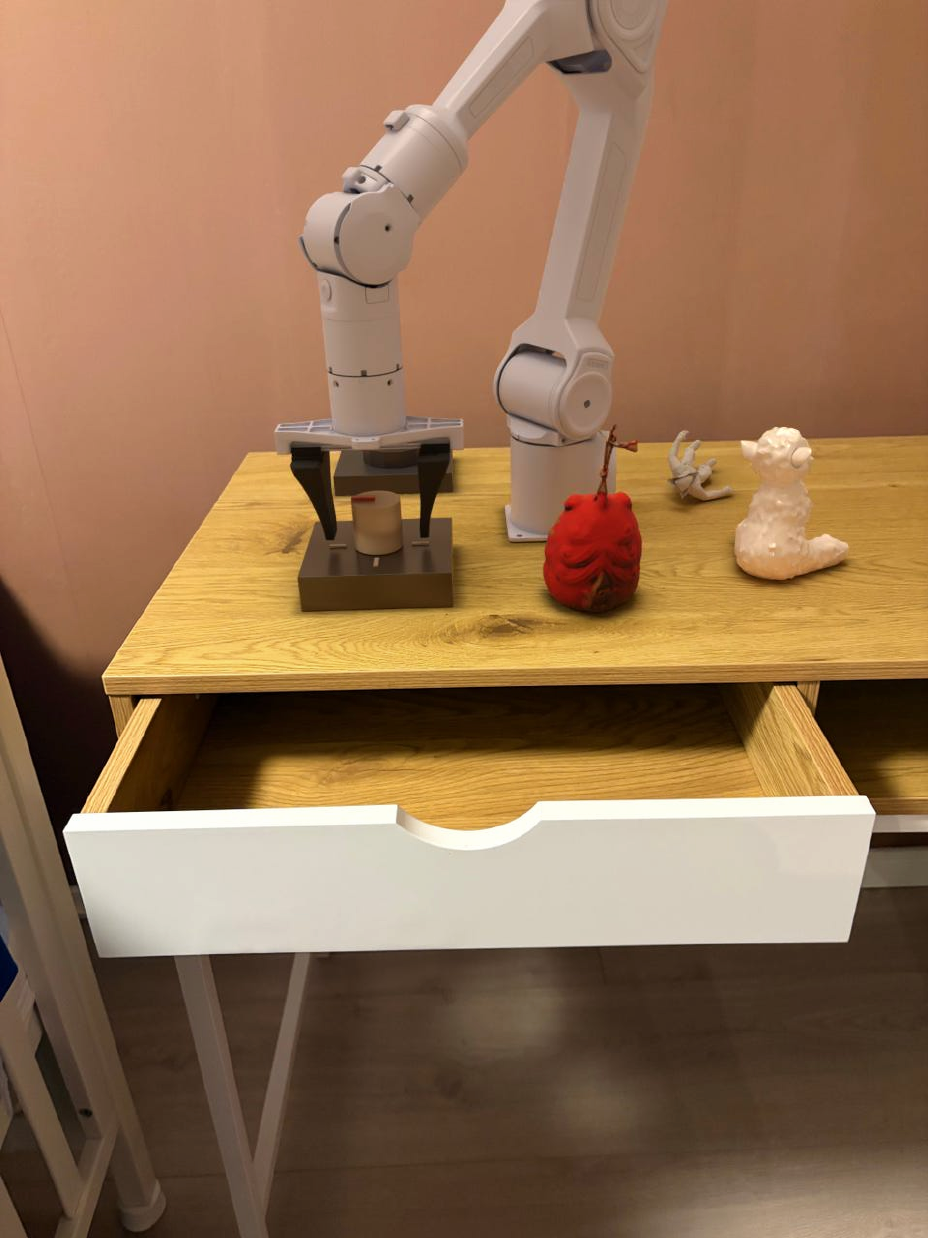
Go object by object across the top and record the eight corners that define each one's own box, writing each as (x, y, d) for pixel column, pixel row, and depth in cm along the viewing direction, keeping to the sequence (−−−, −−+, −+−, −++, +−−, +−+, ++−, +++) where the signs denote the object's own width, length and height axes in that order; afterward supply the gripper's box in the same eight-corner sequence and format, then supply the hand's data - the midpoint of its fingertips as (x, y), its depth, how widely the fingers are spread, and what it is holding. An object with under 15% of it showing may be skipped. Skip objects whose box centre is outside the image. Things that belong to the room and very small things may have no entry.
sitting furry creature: (849, 560, 79) (875, 421, 73) (812, 600, 73) (836, 452, 67) (742, 535, 84) (758, 403, 79) (699, 570, 78) (713, 430, 73)
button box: (452, 460, 104) (451, 424, 102) (452, 493, 96) (451, 455, 94) (345, 463, 104) (341, 428, 102) (335, 496, 96) (331, 459, 94)
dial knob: (404, 534, 79) (401, 486, 77) (402, 554, 76) (398, 504, 74) (357, 535, 79) (352, 487, 77) (352, 555, 76) (348, 506, 74)
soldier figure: (736, 482, 98) (743, 488, 87) (698, 513, 100) (701, 522, 88) (688, 426, 98) (689, 423, 87) (651, 457, 100) (647, 459, 88)
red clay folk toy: (624, 575, 78) (635, 396, 71) (652, 615, 72) (667, 424, 65) (535, 584, 77) (536, 404, 70) (555, 625, 71) (559, 432, 64)
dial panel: (453, 548, 84) (451, 515, 82) (453, 606, 74) (451, 570, 73) (318, 552, 84) (315, 519, 82) (301, 611, 74) (296, 575, 73)
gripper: (258, 384, 67) (281, 557, 74) (461, 378, 67) (466, 552, 73) (275, 360, 73) (295, 521, 80) (461, 355, 73) (466, 517, 80)
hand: (378, 534), depth 77 cm, fingers open, 7 cm apart
